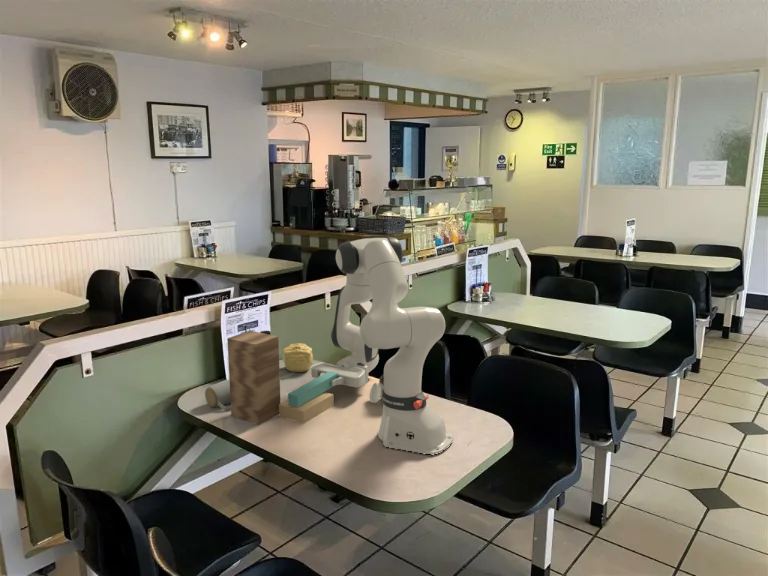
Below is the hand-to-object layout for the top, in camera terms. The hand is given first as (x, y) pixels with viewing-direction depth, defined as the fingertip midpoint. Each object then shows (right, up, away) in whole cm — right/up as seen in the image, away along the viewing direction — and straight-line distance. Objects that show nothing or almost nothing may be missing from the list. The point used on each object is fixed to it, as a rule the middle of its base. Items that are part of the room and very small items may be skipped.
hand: (325, 381), depth 199 cm
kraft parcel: (-5, -8, -7) cm, 12 cm away
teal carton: (-3, -3, -4) cm, 6 cm away
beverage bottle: (-23, -3, +16) cm, 28 cm away
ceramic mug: (-34, -7, -3) cm, 35 cm away
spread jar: (+21, -7, 0) cm, 23 cm away
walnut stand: (-21, -9, -10) cm, 25 cm away
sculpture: (-14, 0, +31) cm, 34 cm away
